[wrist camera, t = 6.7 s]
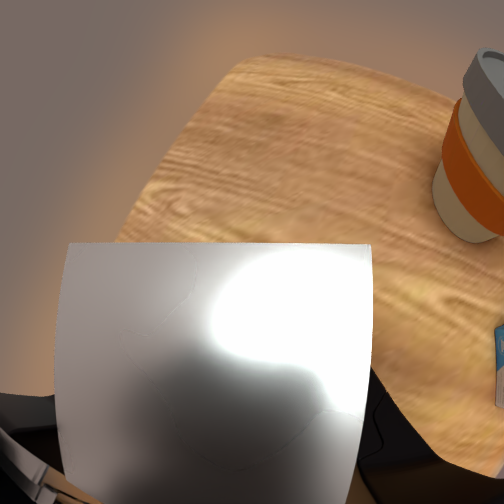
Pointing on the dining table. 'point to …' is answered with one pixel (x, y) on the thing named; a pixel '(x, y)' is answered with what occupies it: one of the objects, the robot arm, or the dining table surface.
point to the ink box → (500, 366)
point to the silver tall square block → (213, 371)
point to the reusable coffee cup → (475, 154)
